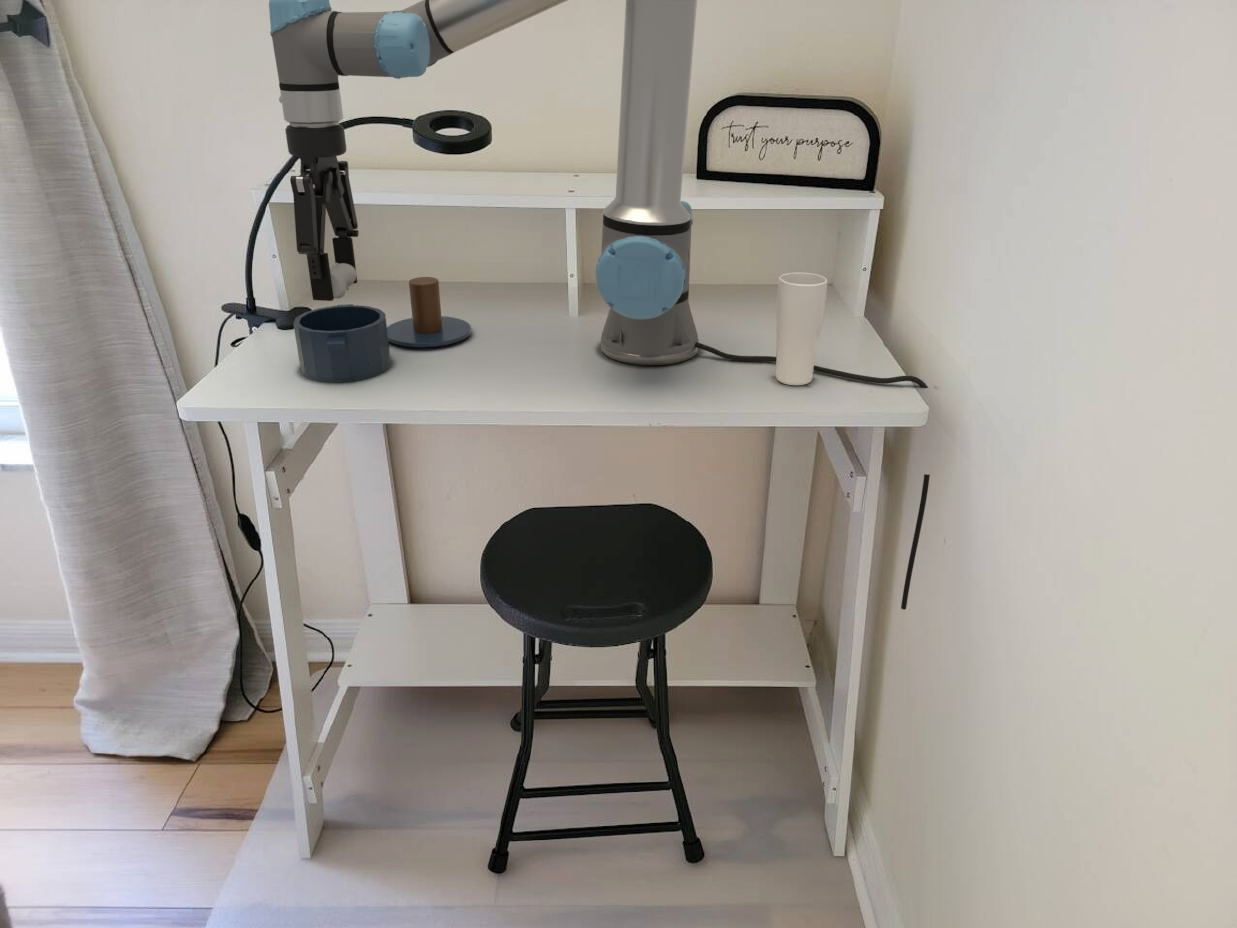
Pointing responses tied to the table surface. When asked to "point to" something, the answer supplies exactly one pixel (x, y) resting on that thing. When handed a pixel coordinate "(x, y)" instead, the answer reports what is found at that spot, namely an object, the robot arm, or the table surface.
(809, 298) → the drinking glass
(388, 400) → the table surface
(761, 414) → the table surface
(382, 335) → the tin
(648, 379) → the table surface
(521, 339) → the table surface
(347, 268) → the mannequin head
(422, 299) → the tin lid
